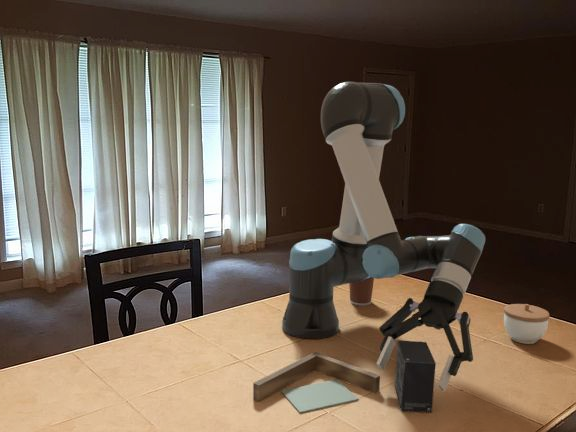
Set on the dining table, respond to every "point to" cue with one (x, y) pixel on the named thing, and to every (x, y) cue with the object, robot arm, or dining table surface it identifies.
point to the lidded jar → (525, 322)
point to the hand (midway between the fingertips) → (409, 377)
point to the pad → (319, 395)
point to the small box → (414, 376)
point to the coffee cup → (361, 292)
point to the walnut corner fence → (307, 367)
